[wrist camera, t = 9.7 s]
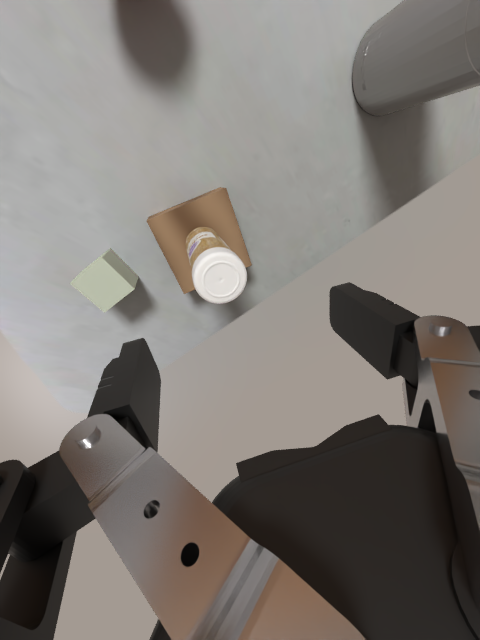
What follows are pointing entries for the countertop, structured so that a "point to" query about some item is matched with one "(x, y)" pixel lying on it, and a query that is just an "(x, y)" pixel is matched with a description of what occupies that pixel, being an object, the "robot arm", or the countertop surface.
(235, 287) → the sprinkles bottle
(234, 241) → the walnut block
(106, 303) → the sage cube
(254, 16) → the countertop surface
